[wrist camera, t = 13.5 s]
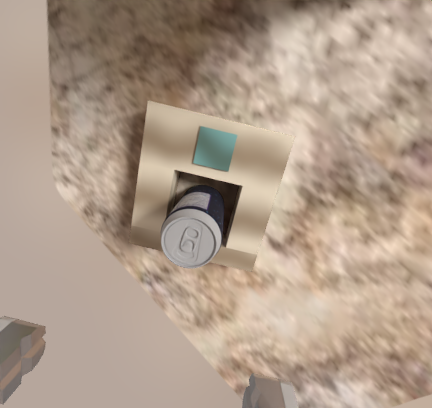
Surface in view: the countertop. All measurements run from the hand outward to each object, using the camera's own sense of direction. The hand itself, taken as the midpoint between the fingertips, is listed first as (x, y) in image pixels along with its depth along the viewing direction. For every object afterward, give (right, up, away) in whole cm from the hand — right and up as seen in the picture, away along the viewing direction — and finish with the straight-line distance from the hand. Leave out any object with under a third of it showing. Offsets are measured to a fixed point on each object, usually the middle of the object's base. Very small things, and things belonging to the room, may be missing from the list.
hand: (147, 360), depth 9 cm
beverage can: (+1, +6, +22) cm, 23 cm away
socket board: (+2, +8, +21) cm, 23 cm away
